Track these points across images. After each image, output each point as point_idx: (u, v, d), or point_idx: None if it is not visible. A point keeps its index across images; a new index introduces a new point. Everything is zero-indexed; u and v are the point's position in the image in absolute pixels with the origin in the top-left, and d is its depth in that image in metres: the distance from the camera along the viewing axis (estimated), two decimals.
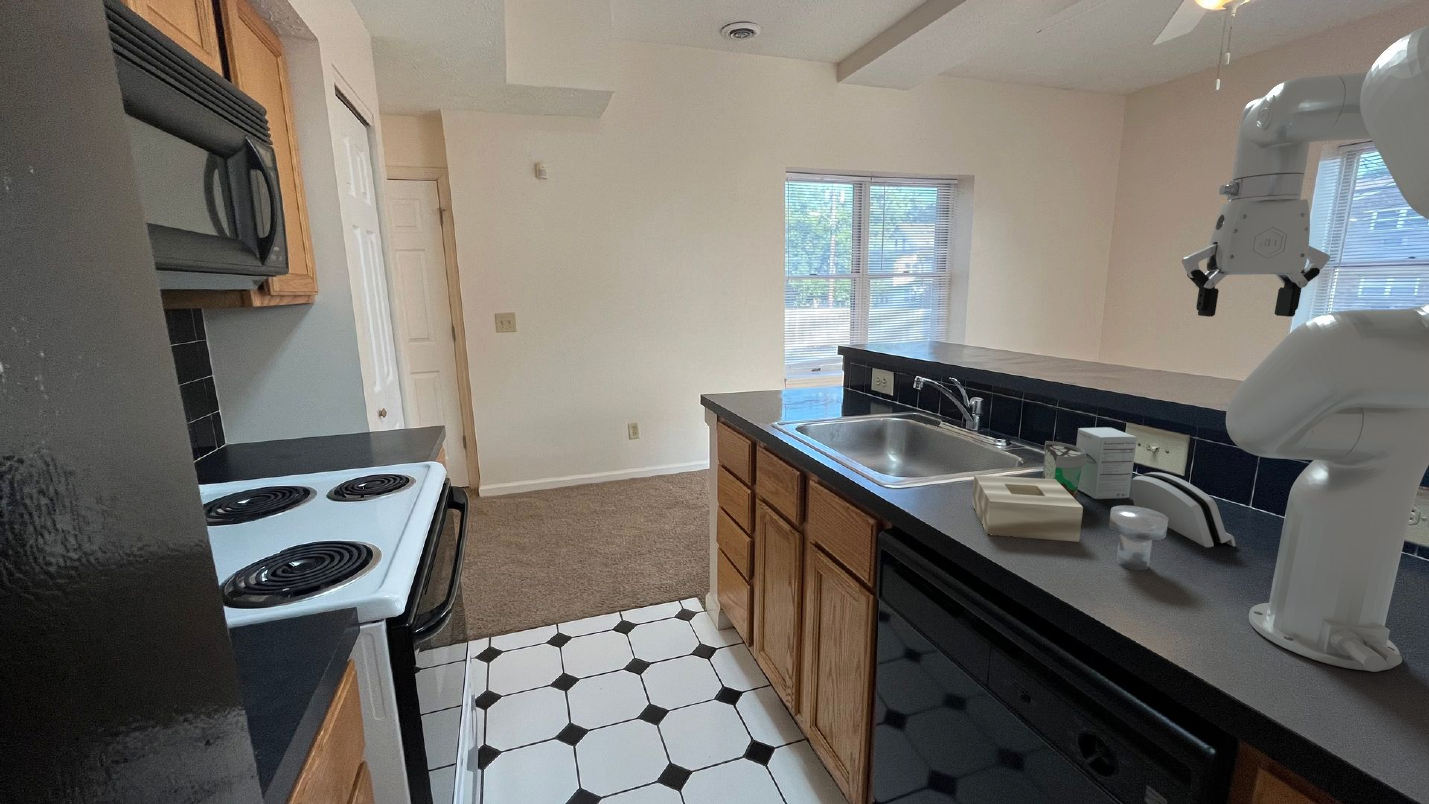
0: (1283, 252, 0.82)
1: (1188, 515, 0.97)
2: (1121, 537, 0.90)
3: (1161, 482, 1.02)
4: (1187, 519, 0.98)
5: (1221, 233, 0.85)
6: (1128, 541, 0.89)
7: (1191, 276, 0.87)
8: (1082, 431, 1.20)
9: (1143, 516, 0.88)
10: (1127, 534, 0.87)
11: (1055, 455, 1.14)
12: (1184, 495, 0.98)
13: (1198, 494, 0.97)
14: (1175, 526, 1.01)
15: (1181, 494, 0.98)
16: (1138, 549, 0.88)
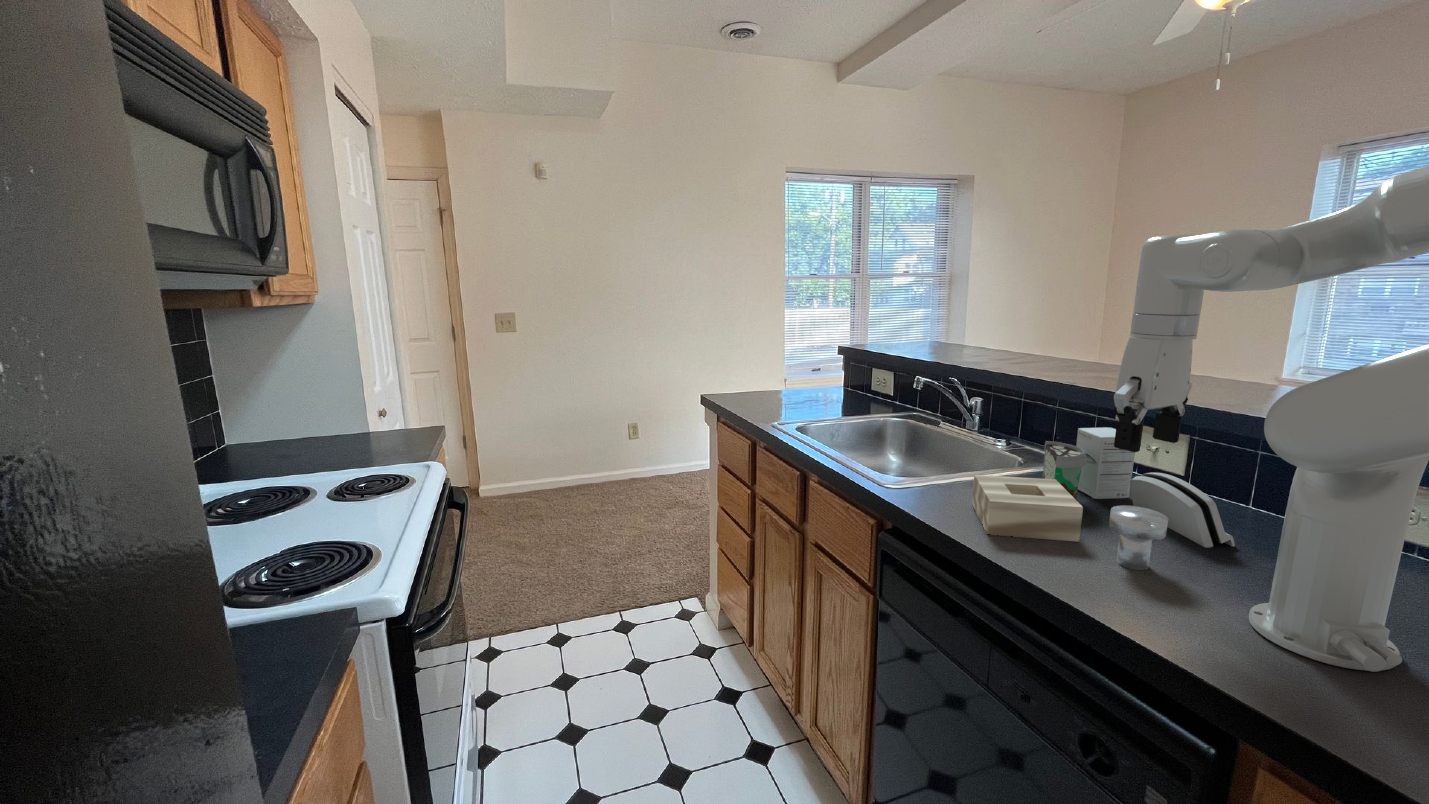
0: None
1: (1187, 515, 0.97)
2: (1121, 537, 0.90)
3: (1160, 482, 1.02)
4: (1186, 519, 0.98)
5: None
6: (1128, 541, 0.89)
7: None
8: (1082, 431, 1.20)
9: (1143, 516, 0.88)
10: (1127, 534, 0.87)
11: (1055, 455, 1.14)
12: (1183, 495, 0.98)
13: (1197, 494, 0.97)
14: (1175, 526, 1.01)
15: (1180, 494, 0.98)
16: (1138, 549, 0.88)
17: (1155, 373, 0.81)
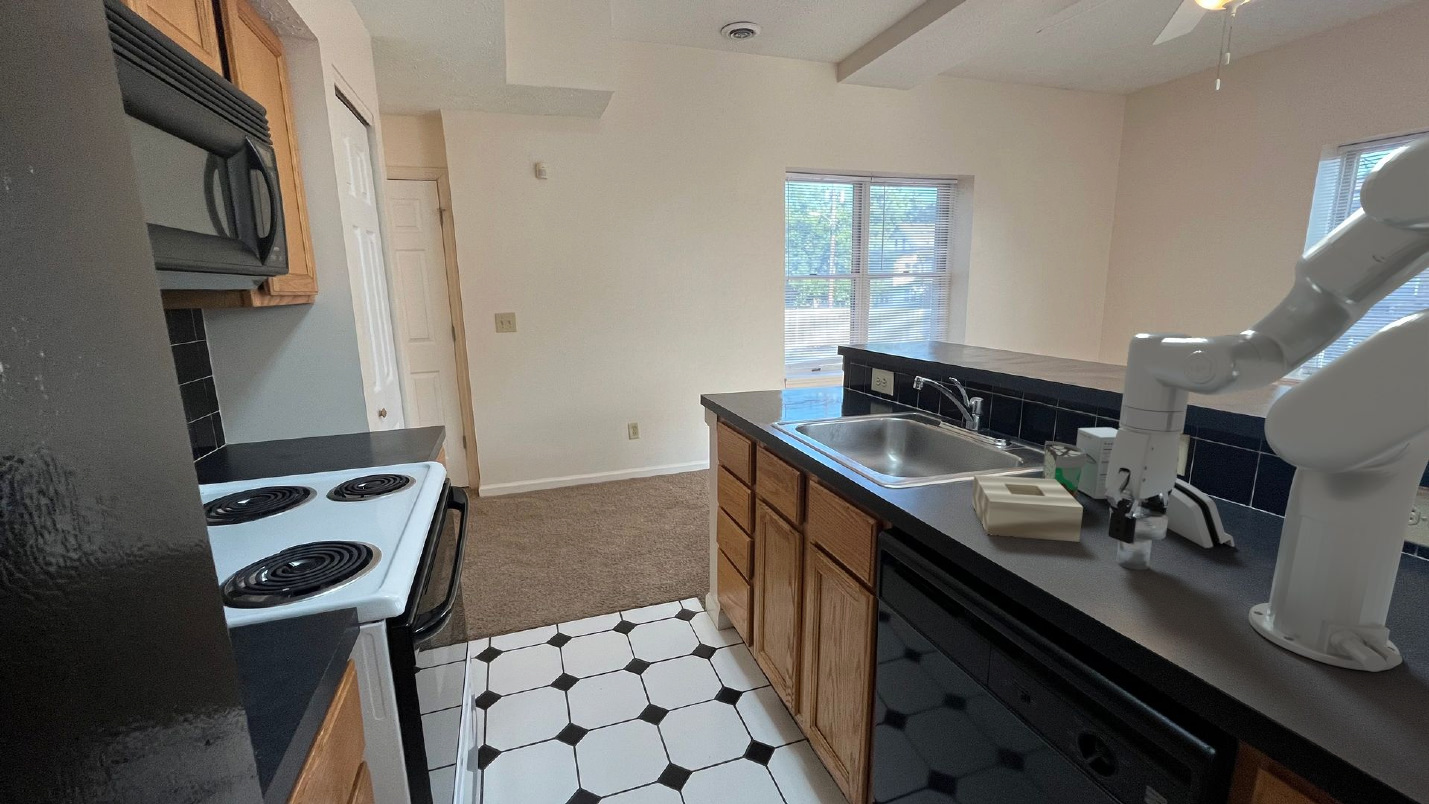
0: None
1: (1187, 515, 0.97)
2: None
3: None
4: (1186, 519, 0.98)
5: None
6: None
7: None
8: (1082, 431, 1.20)
9: (1143, 516, 0.88)
10: None
11: (1055, 455, 1.14)
12: (1183, 495, 0.97)
13: (1197, 494, 0.97)
14: (1174, 526, 1.01)
15: (1180, 494, 0.98)
16: (1138, 549, 0.88)
17: (1143, 467, 0.84)
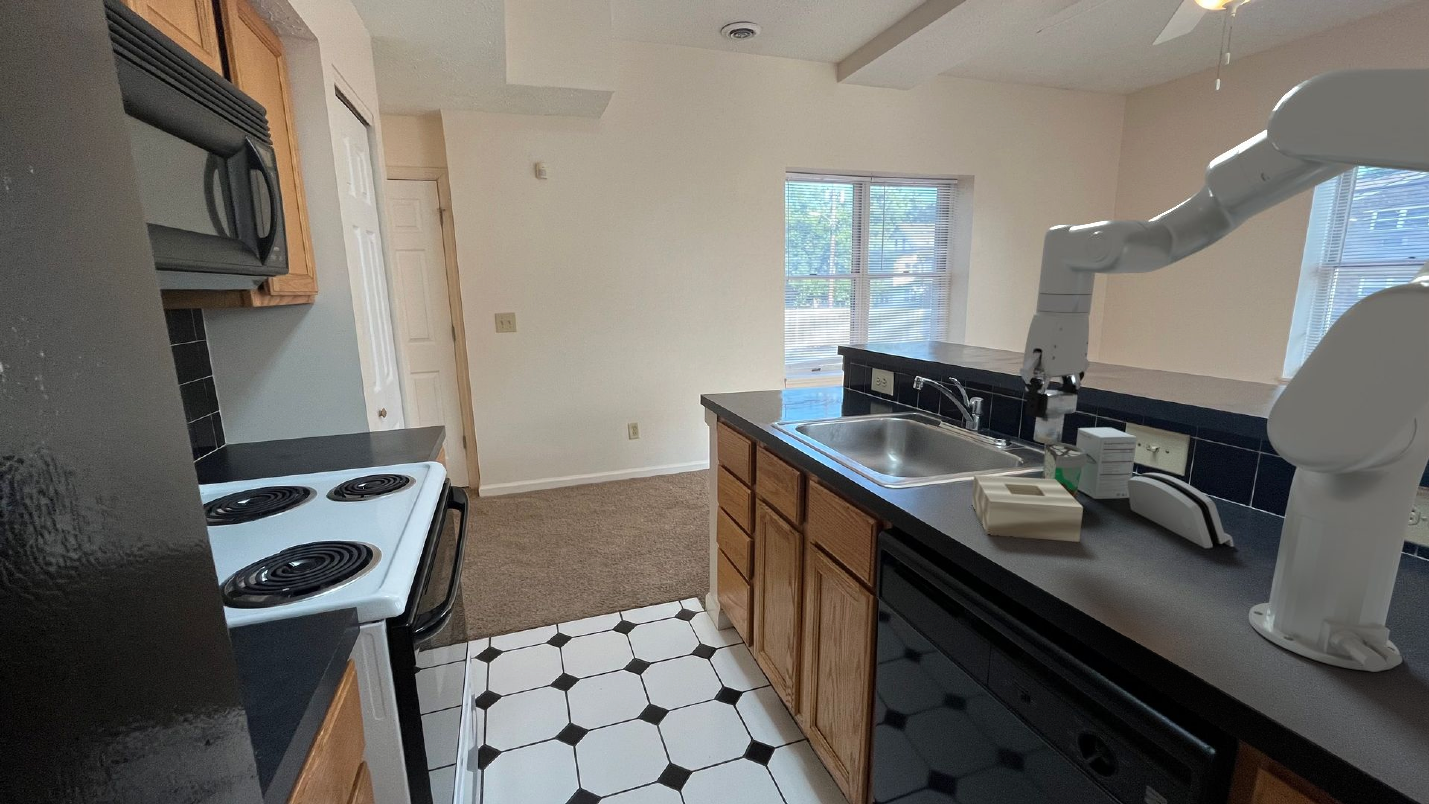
0: None
1: (1187, 516, 0.97)
2: None
3: (1159, 483, 1.02)
4: (1186, 520, 0.97)
5: None
6: (1042, 418, 0.99)
7: None
8: (1082, 431, 1.20)
9: (1056, 394, 0.98)
10: None
11: (1055, 455, 1.14)
12: (1183, 496, 0.97)
13: (1197, 495, 0.97)
14: (1173, 527, 1.01)
15: (1180, 495, 0.98)
16: (1051, 425, 0.98)
17: (1053, 345, 0.93)
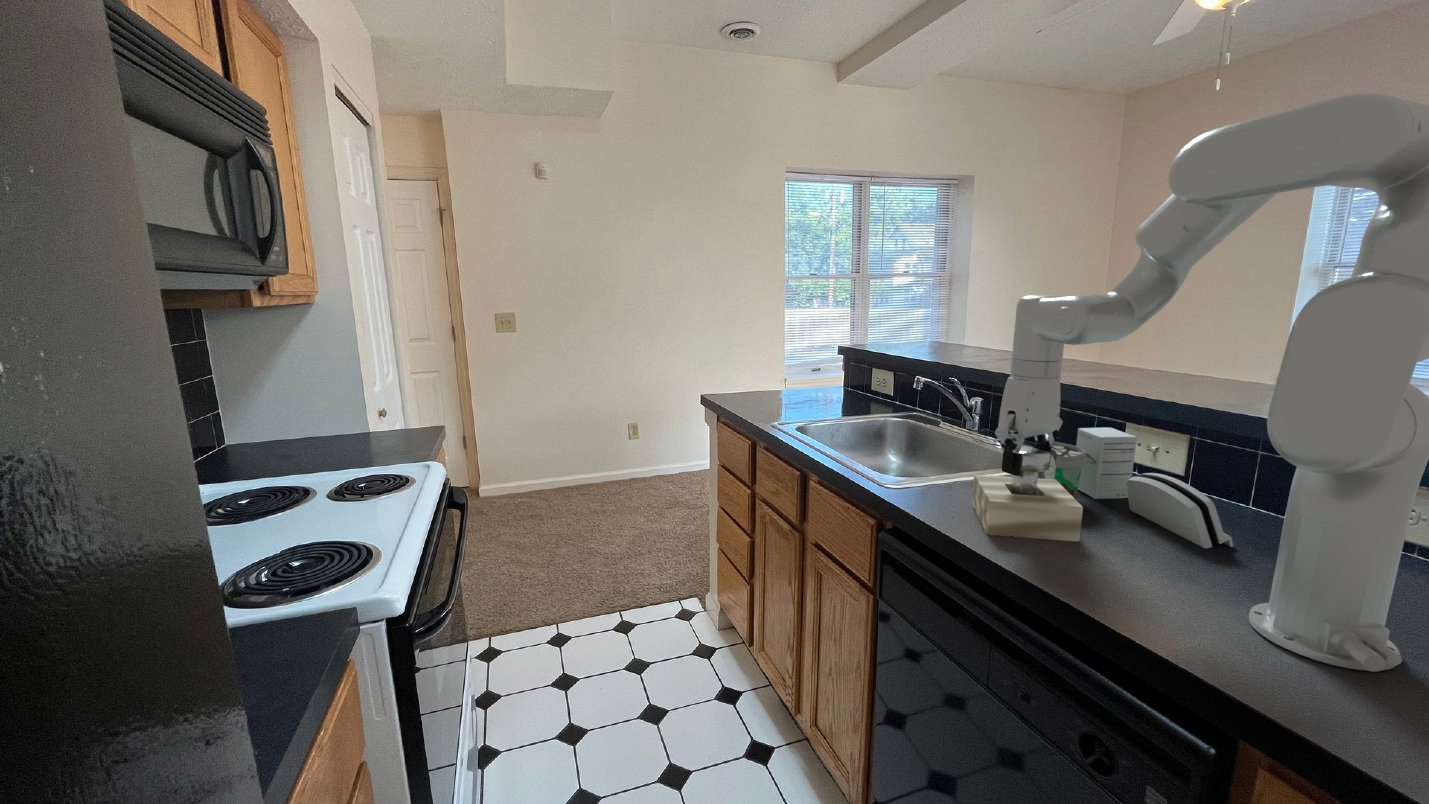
0: None
1: (1186, 516, 0.97)
2: None
3: (1158, 483, 1.02)
4: (1185, 520, 0.97)
5: None
6: None
7: None
8: (1082, 431, 1.20)
9: (1030, 452, 1.03)
10: None
11: (1055, 455, 1.14)
12: (1182, 496, 0.97)
13: (1196, 495, 0.97)
14: (1173, 527, 1.01)
15: (1179, 495, 0.98)
16: (1026, 481, 1.03)
17: (1026, 408, 0.99)
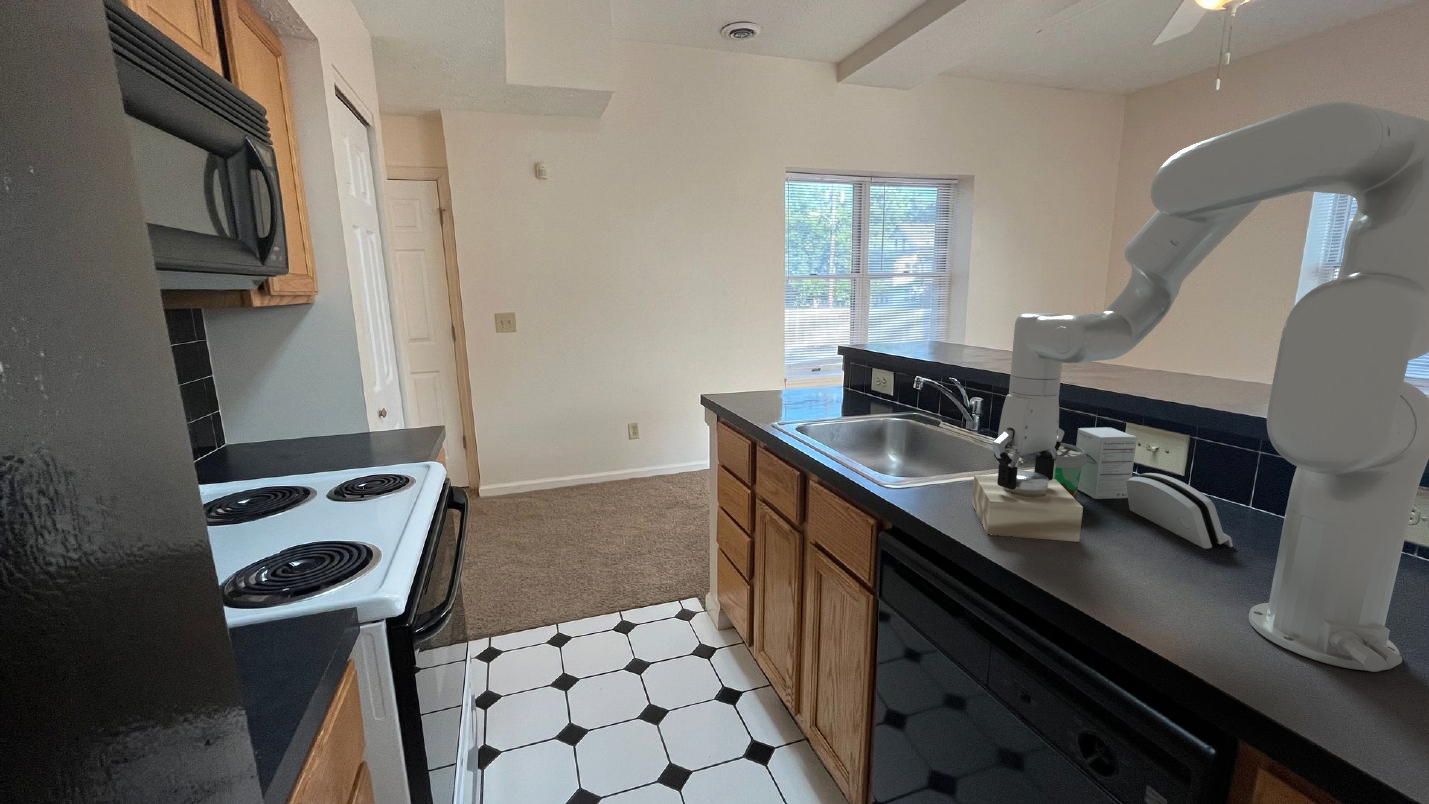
0: None
1: (1186, 516, 0.97)
2: None
3: (1158, 483, 1.02)
4: (1185, 520, 0.97)
5: None
6: None
7: None
8: (1082, 431, 1.20)
9: (1028, 477, 1.04)
10: (1014, 493, 1.03)
11: None
12: (1182, 496, 0.97)
13: (1196, 495, 0.97)
14: (1172, 527, 1.01)
15: (1179, 495, 0.98)
16: None
17: (1024, 426, 0.99)
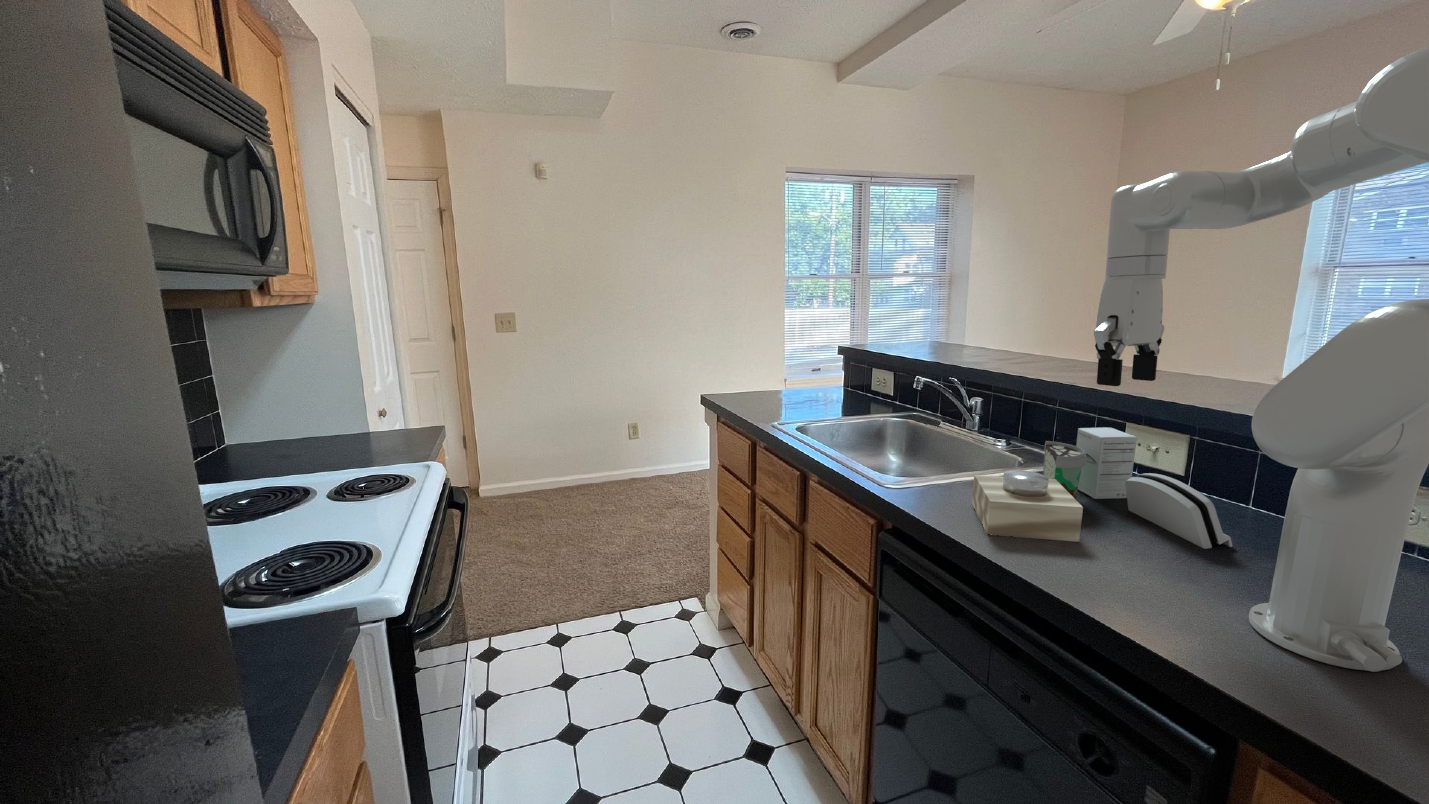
0: None
1: (1186, 516, 0.97)
2: None
3: (1157, 483, 1.02)
4: (1185, 520, 0.97)
5: None
6: None
7: None
8: (1082, 431, 1.20)
9: (1028, 477, 1.04)
10: (1014, 493, 1.03)
11: (1055, 455, 1.14)
12: (1181, 496, 0.97)
13: (1195, 495, 0.96)
14: (1172, 527, 1.01)
15: (1178, 495, 0.98)
16: None
17: (1130, 310, 0.87)
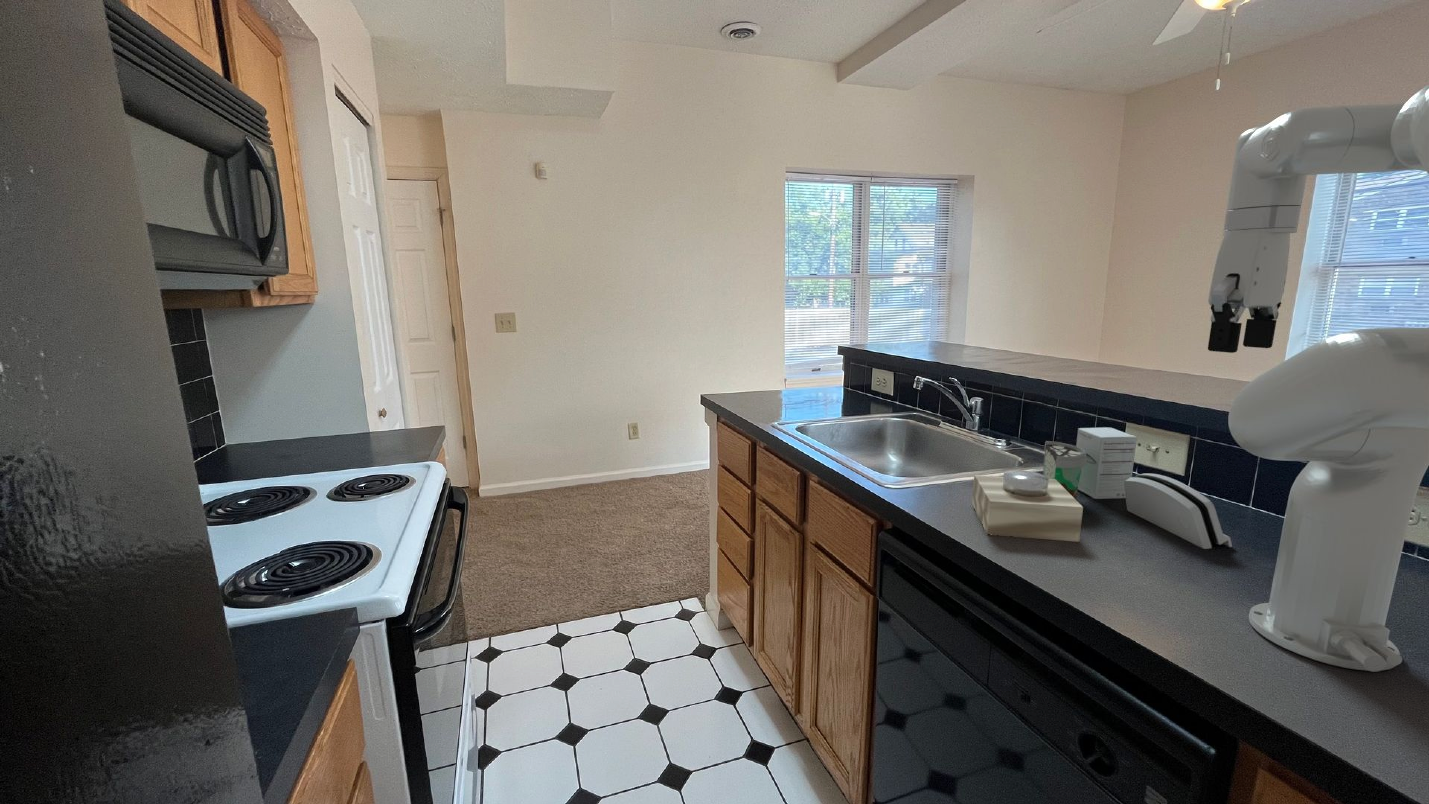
0: None
1: (1186, 517, 0.96)
2: None
3: (1157, 484, 1.02)
4: (1184, 521, 0.97)
5: None
6: None
7: None
8: (1082, 431, 1.20)
9: (1028, 477, 1.04)
10: (1014, 493, 1.03)
11: (1055, 455, 1.14)
12: (1181, 497, 0.97)
13: (1195, 496, 0.96)
14: (1171, 527, 1.01)
15: (1178, 496, 0.97)
16: None
17: (1255, 268, 0.78)
